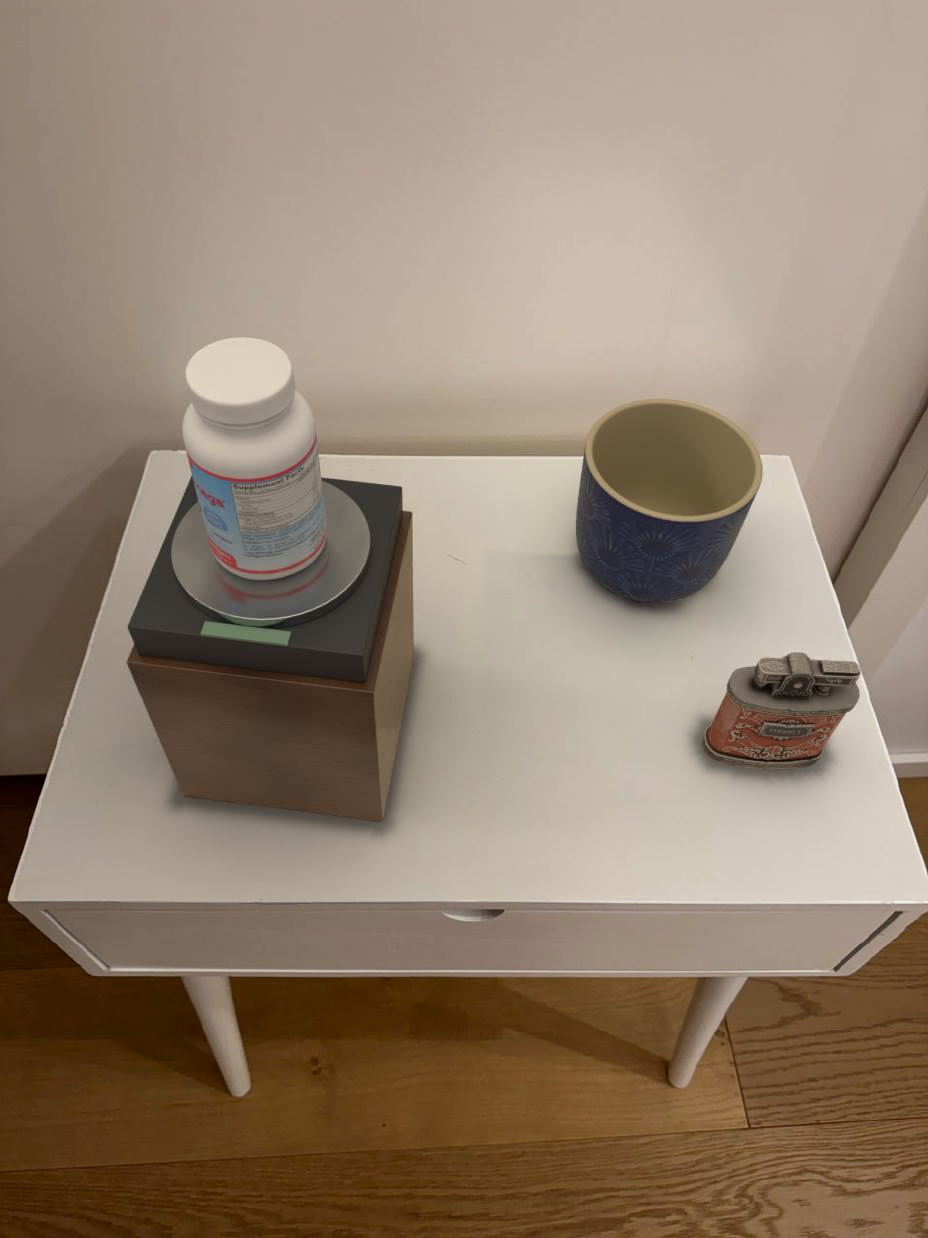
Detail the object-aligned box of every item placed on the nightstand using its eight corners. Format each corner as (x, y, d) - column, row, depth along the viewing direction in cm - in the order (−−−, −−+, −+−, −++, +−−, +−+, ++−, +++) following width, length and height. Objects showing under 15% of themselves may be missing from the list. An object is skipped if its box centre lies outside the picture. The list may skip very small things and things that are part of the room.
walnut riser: (182, 796, 61) (125, 662, 49) (236, 635, 69) (198, 486, 57) (382, 822, 61) (373, 693, 49) (413, 656, 69) (412, 511, 57)
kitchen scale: (138, 655, 50) (122, 617, 47) (204, 493, 57) (193, 452, 54) (365, 683, 49) (362, 646, 46) (403, 516, 56) (402, 475, 54)
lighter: (704, 766, 64) (744, 684, 56) (698, 723, 66) (736, 637, 58) (824, 772, 64) (881, 690, 56) (814, 728, 66) (868, 643, 58)
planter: (736, 526, 78) (775, 422, 69) (706, 640, 70) (747, 541, 62) (589, 485, 80) (610, 380, 71) (546, 592, 73) (563, 490, 64)
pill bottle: (203, 512, 51) (158, 337, 43) (315, 491, 53) (293, 316, 44) (220, 596, 48) (175, 425, 39) (339, 572, 49) (321, 400, 40)
